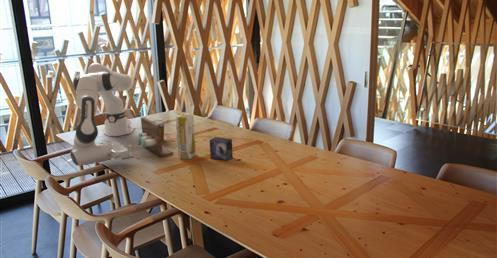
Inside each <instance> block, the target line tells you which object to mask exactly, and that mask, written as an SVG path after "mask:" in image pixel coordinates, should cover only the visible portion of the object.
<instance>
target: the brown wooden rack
mask: <svg viewBox="0 0 497 258" xmlns="http://www.w3.org/2000/svg"><path fill="white" fill-rule="evenodd" d="M153 121H154V120H151V119H149V118H147V117H145V116H144V117H140V123H141V132H142V133H141V134H143V133H147V136H151V137H152V139H154V138H156V140H157V145H153V146H148V147H146V148H144V150H147V151H148V152H149V153H151V154H153V155H154V156H155V157H158V158H159V159H160V158H165V157H169V156H173V155H174V152H173V151H172V150H170V149H168V148H166V147H165V146H163V141H161V129H160V125H159V124H157V123H155V122H153Z"/></svg>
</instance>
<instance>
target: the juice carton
mask: <svg viewBox="0 0 497 258" xmlns="http://www.w3.org/2000/svg"><path fill="white" fill-rule="evenodd" d="M194 120H195V119H194V115H193V113H188V112H186V113H184V114H183V113H182V114H180V115H179V116H177V117H176V118H175V128H176V129H175V130H176V142H177V152H178V157H179V159H181V160H183V159H184V160H191V159H192V158H193V157H194V156H196V136H195V121H194Z"/></svg>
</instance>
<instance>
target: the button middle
mask: <svg viewBox="0 0 497 258" xmlns="http://www.w3.org/2000/svg"><path fill="white" fill-rule="evenodd" d="M149 139H152V137H151V136H145V137H139V136H138V137H136V142H137V145H138V146H142V140H149Z"/></svg>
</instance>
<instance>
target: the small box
mask: <svg viewBox="0 0 497 258" xmlns="http://www.w3.org/2000/svg"><path fill="white" fill-rule="evenodd" d="M209 150H210V159H213V160H217V161H223V162H228V161H229V160H231V159H233V158H234V156H233V139H232V138H225V137H218V136H215V137H213V138H211V139H209Z"/></svg>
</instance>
